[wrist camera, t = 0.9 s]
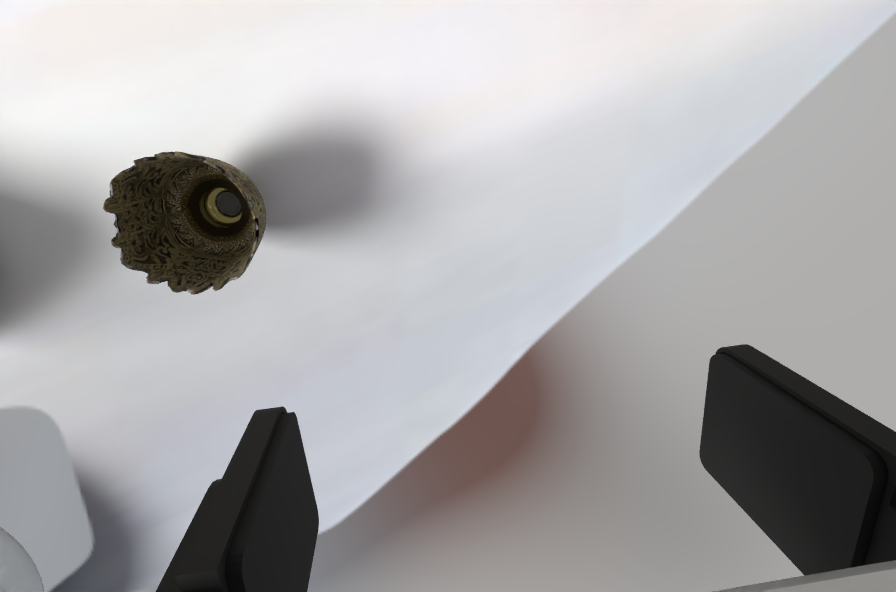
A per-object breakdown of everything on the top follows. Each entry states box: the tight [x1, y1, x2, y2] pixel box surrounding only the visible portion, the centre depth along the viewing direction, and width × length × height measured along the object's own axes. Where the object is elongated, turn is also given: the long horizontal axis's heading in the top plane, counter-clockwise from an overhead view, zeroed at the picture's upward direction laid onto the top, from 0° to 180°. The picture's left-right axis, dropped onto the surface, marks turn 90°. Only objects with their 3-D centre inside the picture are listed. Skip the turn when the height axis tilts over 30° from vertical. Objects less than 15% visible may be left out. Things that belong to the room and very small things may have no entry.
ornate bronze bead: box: [103, 152, 266, 294], centre depth 28 cm, size 8×7×8 cm
